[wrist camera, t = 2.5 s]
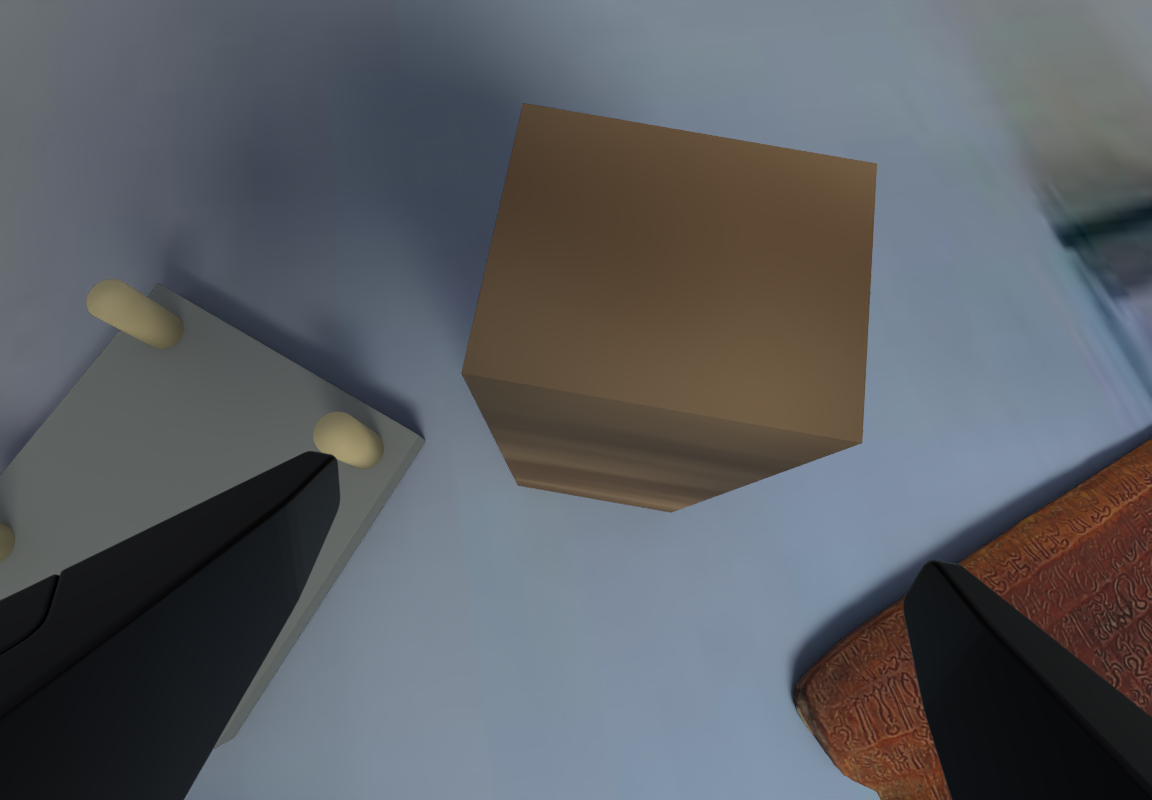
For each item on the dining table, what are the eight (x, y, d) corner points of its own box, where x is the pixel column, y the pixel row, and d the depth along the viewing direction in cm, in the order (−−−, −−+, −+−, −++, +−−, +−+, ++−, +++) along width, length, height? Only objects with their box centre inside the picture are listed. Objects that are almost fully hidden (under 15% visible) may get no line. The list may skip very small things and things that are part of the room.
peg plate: (233, 738, 18) (156, 782, 14) (-38, 560, 18) (-170, 560, 15) (425, 441, 20) (399, 417, 16) (176, 295, 21) (103, 245, 17)
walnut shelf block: (671, 512, 20) (862, 443, 8) (517, 485, 20) (461, 373, 8) (686, 393, 21) (876, 164, 8) (540, 368, 21) (523, 102, 9)
